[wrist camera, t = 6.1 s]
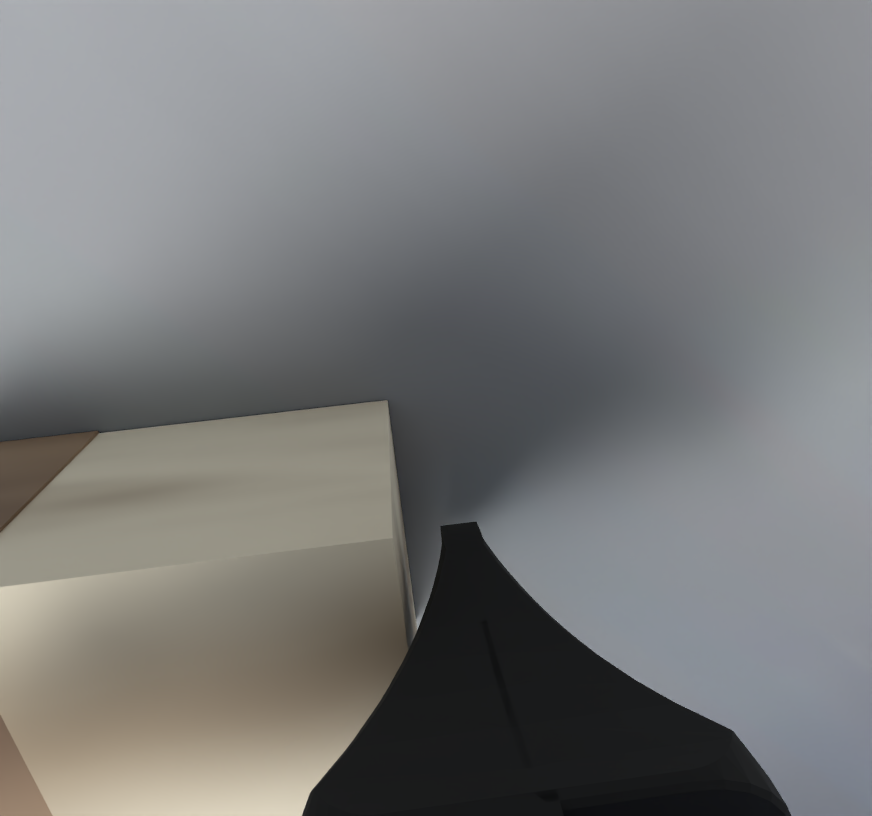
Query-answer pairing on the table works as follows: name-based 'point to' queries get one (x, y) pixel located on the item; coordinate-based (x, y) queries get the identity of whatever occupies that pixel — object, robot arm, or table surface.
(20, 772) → the walnut board
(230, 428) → the birch block
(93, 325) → the table surface
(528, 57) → the table surface
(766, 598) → the table surface
